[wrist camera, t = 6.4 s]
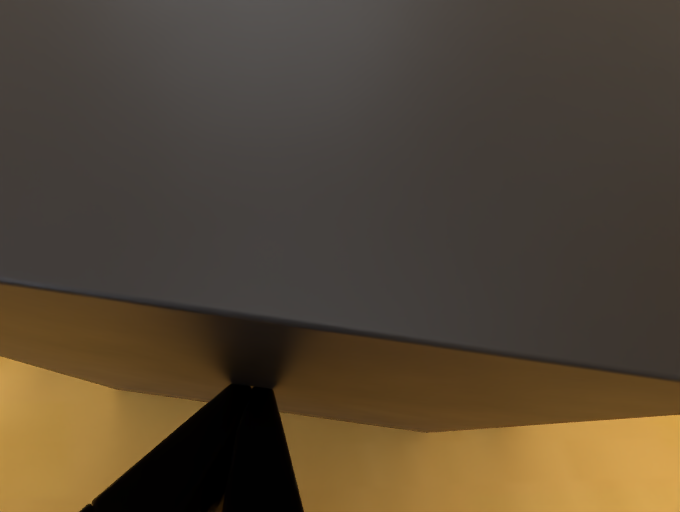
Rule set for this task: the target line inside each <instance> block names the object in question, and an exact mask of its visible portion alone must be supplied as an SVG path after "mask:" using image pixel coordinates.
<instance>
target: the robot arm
mask: <svg viewBox="0 0 680 512" xmlns="http://www.w3.org/2000/svg"><path fill="white" fill-rule="evenodd" d="M79 512H304V510H303V506H302V502H301V498H300V494H299V490H298V486H297V482H296V478H295V474H294V470H293V466H292V462H291V458H290V454H289V450H288V446H287V442H286V438H285V434H284V430H283V426H282V422H281V418H280V414H279V410H278V406H277V402H276V398H275V394H274V391H273V389H269V388H262V387H253V388H251V386H248V385H241V384H233V383H231V384H229V385H228V386H227V387H226V388H225V389H223V390H222V391H221V392H220V393H219V394H218V395H216V396H215V397H214V398H213V399H212V400H210V401H209V402H208V403H207V404H206V405H205V406H203V407H202V408H201V409H200V410H199V411H197V412H196V413H195V414H194V415H193V416H192V417H190V418H189V419H188V420H187V421H186V422H185V423H183V424H182V425H181V426H180V427H179V428H177V429H176V430H175V431H174V432H173V433H172V434H170V435H169V436H168V437H167V438H166V439H164V440H163V441H162V442H161V443H160V444H159V445H157V446H156V447H155V448H154V449H153V450H152V451H150V452H149V453H148V454H147V455H146V456H144V457H143V458H142V459H141V460H140V461H139V462H137V463H136V464H135V465H134V466H133V467H131V468H130V469H129V470H128V471H127V472H126V473H124V474H123V475H122V476H121V477H120V478H119V479H117V480H116V481H115V482H114V483H113V484H111V485H110V486H109V487H108V488H107V489H106V490H104V491H103V492H102V493H101V494H100V495H98V496H97V497H96V498H95V499H94V500H93V501H92V505H91V504H88V505H86V506H85V507H84V508H83V509H82V510H81V511H79Z"/></svg>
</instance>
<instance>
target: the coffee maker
mask: <svg viewBox="0 0 680 512" xmlns="http://www.w3.org/2000/svg"><path fill="white" fill-rule="evenodd" d="M0 356H1V357H5V358H9V359H12V360H16V361H19V362H23V363H26V364H30V365H33V366H37V367H40V368H44V369H47V370H51V371H54V372H58V373H61V374H65V375H68V376H72V377H75V378H79V379H82V380H86V381H89V382H93V383H96V384H100V385H103V386H107V387H110V388H114V389H118V390H125V391H132V392H140V393H147V394H154V395H161V396H168V397H175V398H183V399H190V400H197V401H204V402H209V401H210V400H212V399H213V398H214V397H215V396H216V395H218V394H219V393H220V392H221V391H222V390H223V389H225V388H226V387H227V386H228V385H229V384H231V383H233V384H241V385H248V386H251V388H253V387H262V388H269V389H273V391H274V394H275V398H276V402H277V406H278V410H279V412H283V413H290V414H297V415H304V416H312V417H319V418H326V419H333V420H340V421H347V422H355V423H362V424H369V425H376V426H383V427H390V428H398V429H405V430H412V431H419V432H426V433H428V432H442V431H456V430H470V429H484V428H498V427H512V426H526V425H540V424H554V423H568V422H582V421H596V420H611V419H625V418H639V417H653V416H667V415H680V0H0Z"/></svg>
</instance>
